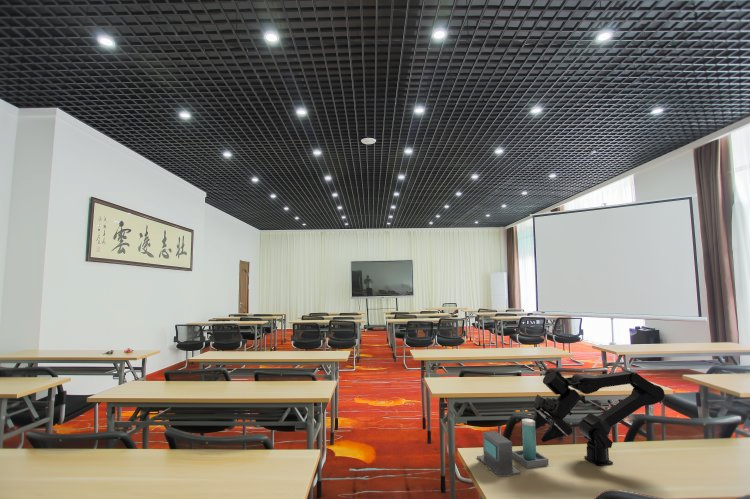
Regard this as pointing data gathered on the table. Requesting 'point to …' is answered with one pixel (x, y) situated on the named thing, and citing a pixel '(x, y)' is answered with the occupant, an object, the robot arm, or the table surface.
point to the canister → (529, 439)
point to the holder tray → (530, 464)
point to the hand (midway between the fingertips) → (536, 435)
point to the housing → (498, 454)
